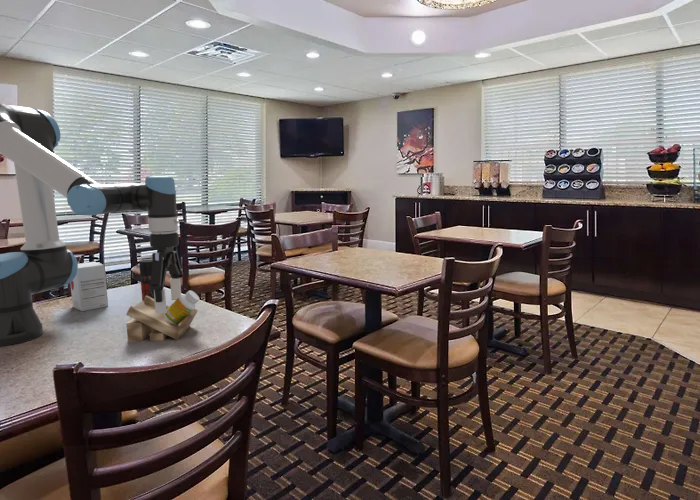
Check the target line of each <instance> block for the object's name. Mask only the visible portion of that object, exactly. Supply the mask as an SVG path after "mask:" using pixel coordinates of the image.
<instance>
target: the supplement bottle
mask: <svg viewBox="0 0 700 500" xmlns="http://www.w3.org/2000/svg"><path fill="white" fill-rule="evenodd" d="M199 301H200V297H199V295H198V294H197V293H196V292H195V291H193V290H188V291H187V292H186V293H185V294H181V296H180V297H179V298H178V299H177V300H174V301H173V303H171V304H170V306H169V308H168V309H167V313H164V317H165V318H166V319H167V320H168V321H169V322H170V323H171V324H173V325H178V324H179V323H181V322H182V321H183V320H184V319H185V318H186V317H187V316H188V315H189V314H190V313H191V312H192V311H193V310H194V309H196V304H198V302H199Z"/></svg>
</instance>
